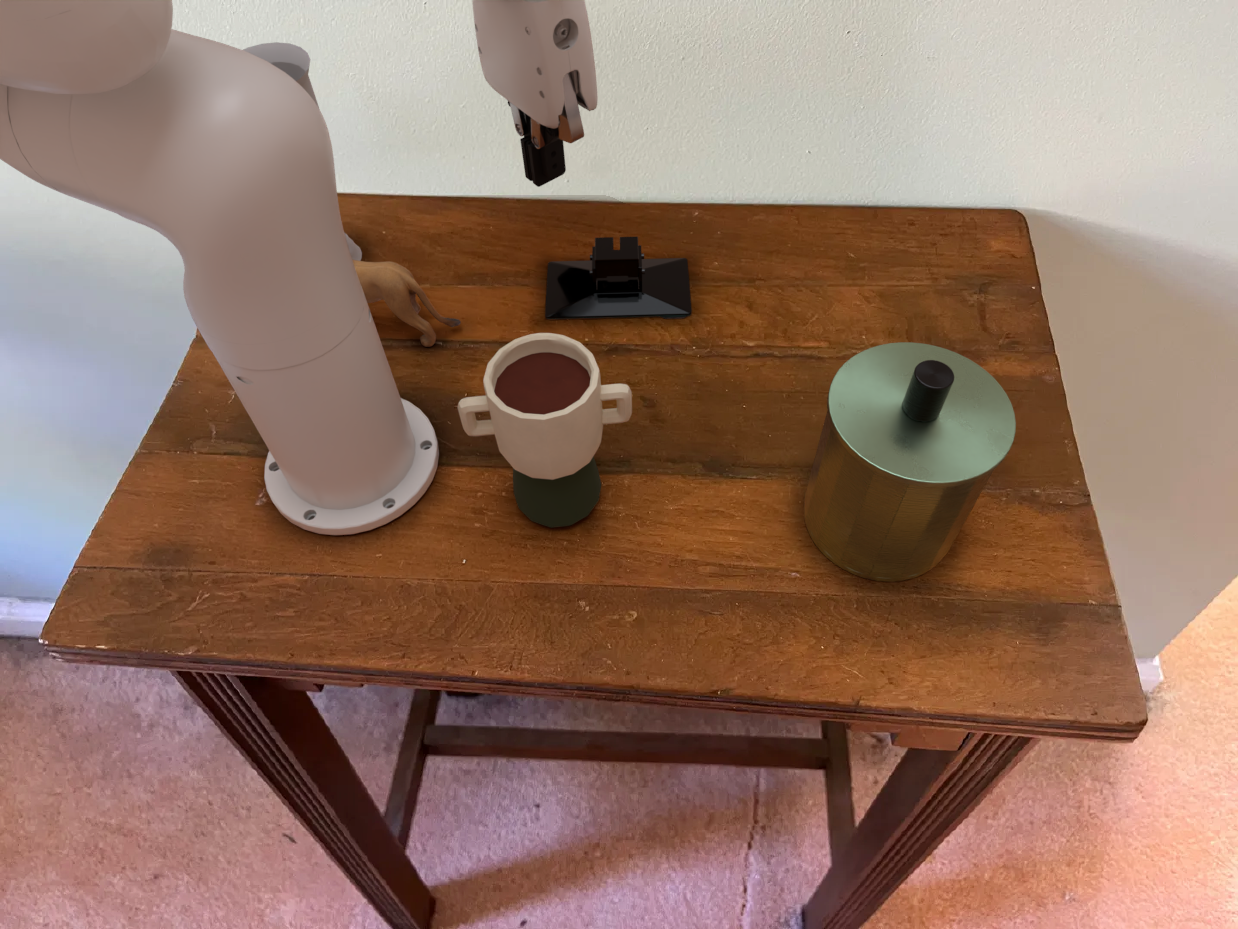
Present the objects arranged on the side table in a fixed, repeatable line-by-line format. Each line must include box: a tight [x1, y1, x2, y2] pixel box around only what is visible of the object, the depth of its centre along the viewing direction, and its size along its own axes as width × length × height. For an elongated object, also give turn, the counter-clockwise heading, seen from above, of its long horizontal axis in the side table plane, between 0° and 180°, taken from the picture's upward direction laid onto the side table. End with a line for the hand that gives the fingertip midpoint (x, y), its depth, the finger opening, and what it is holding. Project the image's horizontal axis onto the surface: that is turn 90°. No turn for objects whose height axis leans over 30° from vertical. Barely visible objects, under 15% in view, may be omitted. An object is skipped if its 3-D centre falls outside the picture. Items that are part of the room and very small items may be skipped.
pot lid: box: [826, 341, 1017, 487], centre depth 50 cm, size 11×11×4 cm
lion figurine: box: [352, 260, 462, 348], centre depth 70 cm, size 15×5×9 cm, turn 88°
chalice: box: [242, 41, 363, 261], centre depth 71 cm, size 7×7×18 cm
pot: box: [803, 409, 994, 583], centre depth 56 cm, size 10×10×12 cm
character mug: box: [457, 332, 633, 529], centre depth 57 cm, size 11×7×13 cm, turn 96°
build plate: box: [544, 236, 693, 321], centre depth 73 cm, size 12×7×5 cm, turn 91°
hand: (546, 175), depth 75 cm, fingers closed
